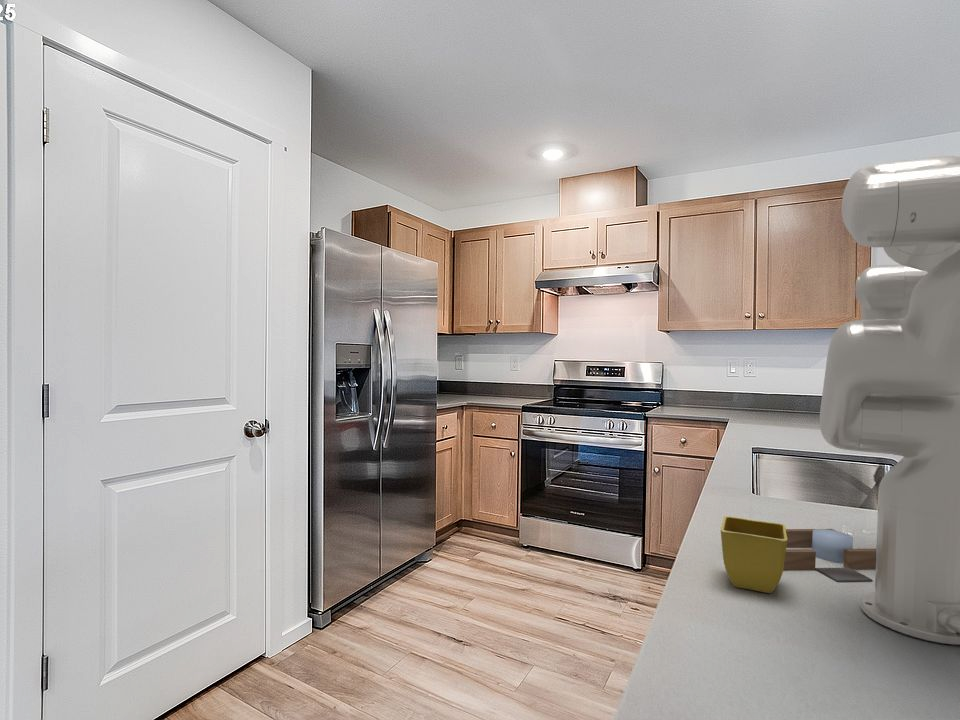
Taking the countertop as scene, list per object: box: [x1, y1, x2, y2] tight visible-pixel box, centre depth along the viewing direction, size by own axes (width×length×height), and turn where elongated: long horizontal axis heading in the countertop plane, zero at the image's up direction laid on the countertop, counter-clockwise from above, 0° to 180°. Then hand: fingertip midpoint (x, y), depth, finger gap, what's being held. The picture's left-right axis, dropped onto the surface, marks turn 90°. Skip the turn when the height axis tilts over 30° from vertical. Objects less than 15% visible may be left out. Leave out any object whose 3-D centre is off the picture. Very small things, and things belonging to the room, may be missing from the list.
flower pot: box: [720, 515, 788, 594], centre depth 83 cm, size 9×9×9 cm
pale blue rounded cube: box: [811, 528, 854, 564], centre depth 96 cm, size 6×6×4 cm
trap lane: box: [783, 528, 876, 583], centre depth 95 cm, size 21×21×4 cm
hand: (882, 434), depth 98 cm, fingers open, 9 cm apart
